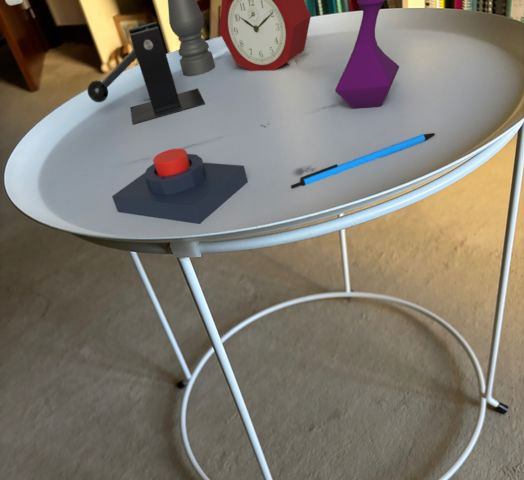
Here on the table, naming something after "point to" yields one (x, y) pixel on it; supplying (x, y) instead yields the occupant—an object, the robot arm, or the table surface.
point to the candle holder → (190, 37)
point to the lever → (109, 79)
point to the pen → (361, 160)
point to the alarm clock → (264, 31)
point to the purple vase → (367, 65)
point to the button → (171, 162)
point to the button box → (182, 191)
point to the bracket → (158, 78)
